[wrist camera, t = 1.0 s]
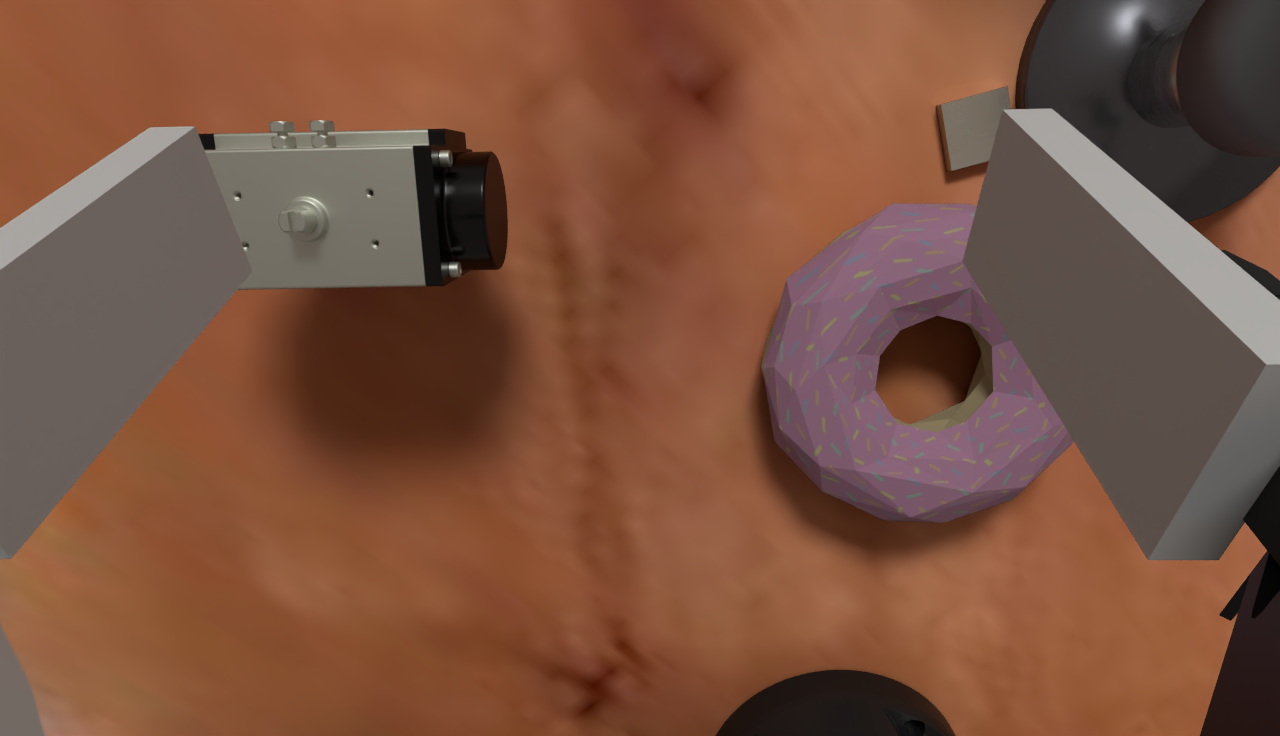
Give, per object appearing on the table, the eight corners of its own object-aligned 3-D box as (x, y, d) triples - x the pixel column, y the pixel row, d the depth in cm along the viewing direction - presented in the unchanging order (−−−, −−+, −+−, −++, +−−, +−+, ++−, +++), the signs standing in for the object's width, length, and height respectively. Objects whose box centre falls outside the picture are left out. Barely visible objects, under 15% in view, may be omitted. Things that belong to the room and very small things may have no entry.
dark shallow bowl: (1313, 183, 35) (1444, 185, 30) (962, 273, 37) (1022, 293, 31) (1301, -120, 32) (1445, -184, 26) (917, -10, 33) (974, -47, 28)
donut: (692, 355, 38) (699, 382, 33) (926, 130, 35) (971, 123, 30) (893, 551, 41) (926, 603, 36) (1125, 357, 38) (1195, 384, 33)
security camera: (531, 252, 37) (477, 290, 25) (290, 256, 37) (126, 297, 25) (524, 132, 35) (464, 114, 24) (274, 137, 35) (92, 122, 24)
